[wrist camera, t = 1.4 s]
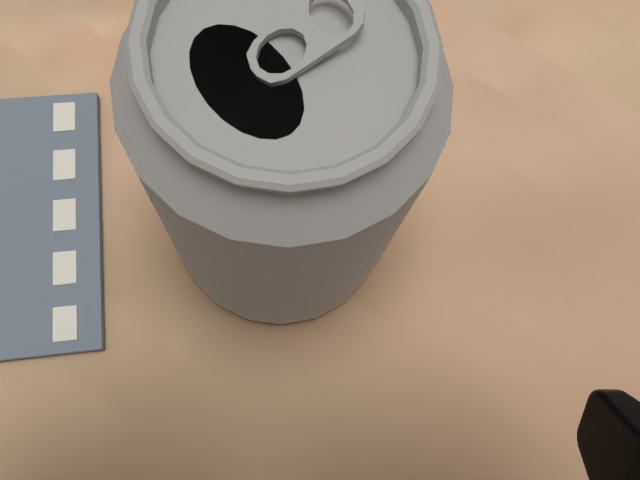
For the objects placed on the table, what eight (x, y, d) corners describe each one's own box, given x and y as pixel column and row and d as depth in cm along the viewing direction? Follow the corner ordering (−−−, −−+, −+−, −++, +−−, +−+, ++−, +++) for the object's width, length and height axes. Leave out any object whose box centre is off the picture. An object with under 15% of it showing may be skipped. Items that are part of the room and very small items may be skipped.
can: (140, 210, 23) (9, -8, 11) (298, 107, 25) (321, -170, 13) (258, 370, 21) (241, 305, 10) (417, 249, 23) (557, 76, 12)
